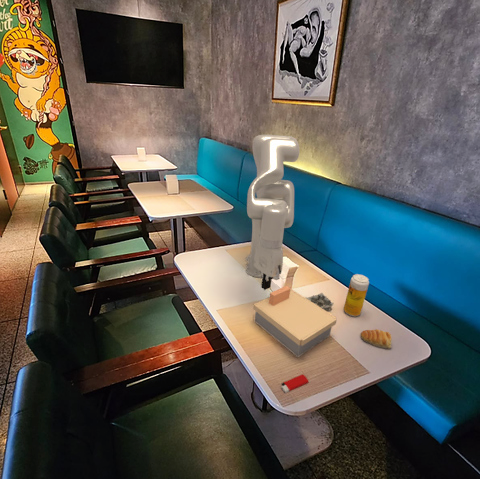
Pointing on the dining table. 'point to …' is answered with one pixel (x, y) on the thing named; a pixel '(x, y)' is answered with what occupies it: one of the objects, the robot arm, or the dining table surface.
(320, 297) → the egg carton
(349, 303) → the beer can
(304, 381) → the lighter
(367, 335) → the pastry
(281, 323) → the lid
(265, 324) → the box
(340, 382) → the dining table surface
